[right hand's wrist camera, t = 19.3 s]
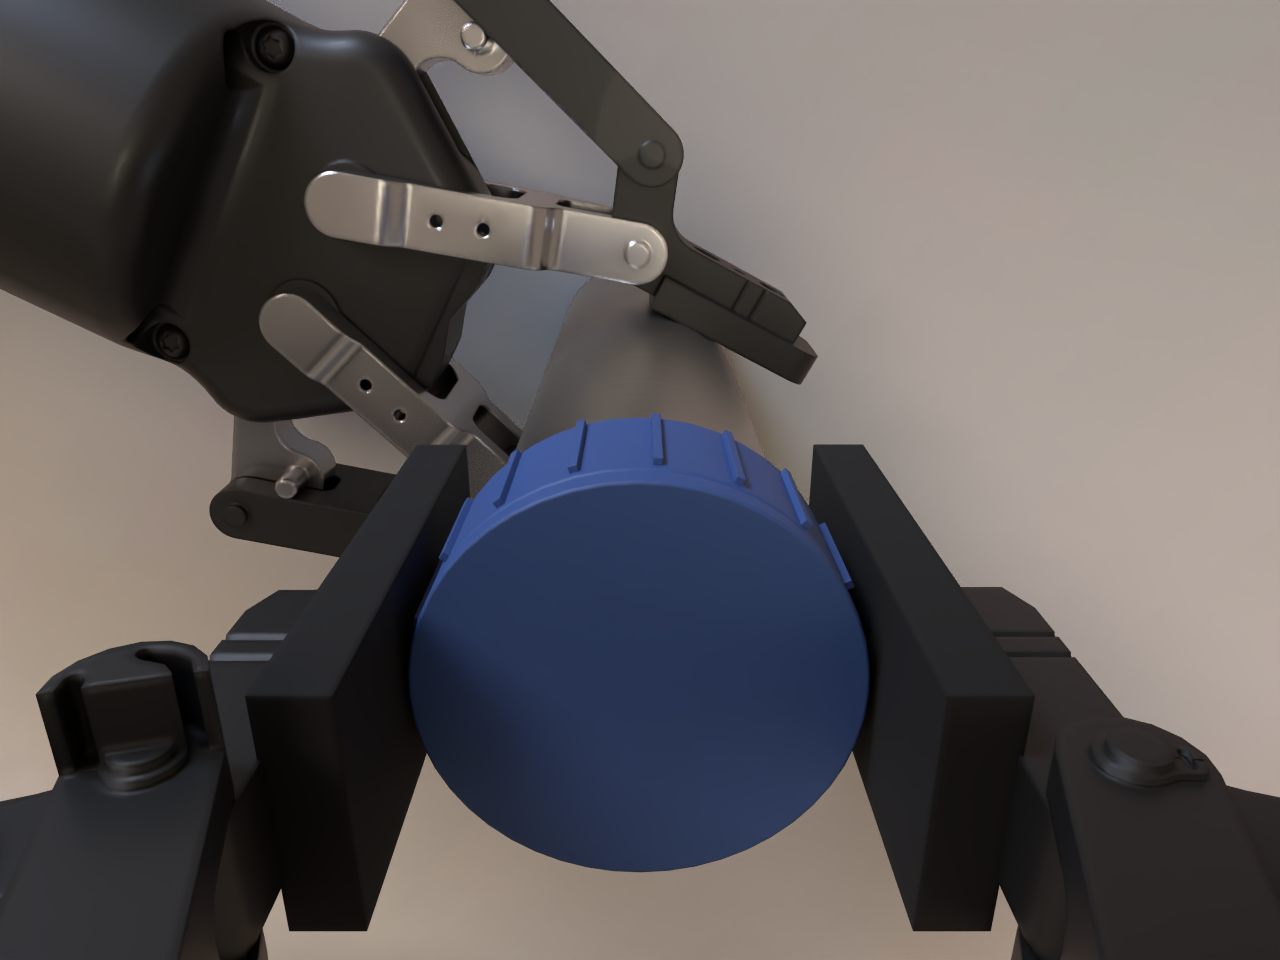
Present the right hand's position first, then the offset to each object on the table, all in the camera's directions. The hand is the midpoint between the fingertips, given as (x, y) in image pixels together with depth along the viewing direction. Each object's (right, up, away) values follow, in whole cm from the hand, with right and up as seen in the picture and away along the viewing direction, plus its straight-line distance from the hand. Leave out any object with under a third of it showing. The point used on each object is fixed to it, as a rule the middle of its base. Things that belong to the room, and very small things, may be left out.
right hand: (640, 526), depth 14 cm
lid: (0, -2, -4) cm, 4 cm away
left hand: (+2, +1, +7) cm, 7 cm away
